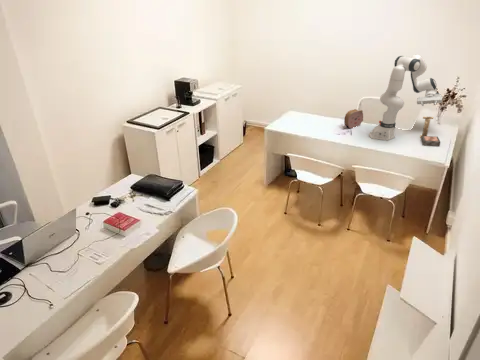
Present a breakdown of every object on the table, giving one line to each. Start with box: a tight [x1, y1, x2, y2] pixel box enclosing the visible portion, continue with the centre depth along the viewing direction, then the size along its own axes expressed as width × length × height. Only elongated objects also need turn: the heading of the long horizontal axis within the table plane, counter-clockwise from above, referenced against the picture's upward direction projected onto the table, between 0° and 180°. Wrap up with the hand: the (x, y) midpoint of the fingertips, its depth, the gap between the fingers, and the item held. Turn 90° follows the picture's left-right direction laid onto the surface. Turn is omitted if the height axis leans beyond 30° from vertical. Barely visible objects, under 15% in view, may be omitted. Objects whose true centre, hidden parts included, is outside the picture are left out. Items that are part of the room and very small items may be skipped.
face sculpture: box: [343, 108, 364, 129], centre depth 352 cm, size 20×7×17 cm, turn 119°
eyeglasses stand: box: [419, 116, 434, 139], centre depth 318 cm, size 8×7×20 cm
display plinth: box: [420, 135, 441, 147], centre depth 311 cm, size 13×12×4 cm
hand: (428, 104), depth 315 cm, fingers open, 8 cm apart
